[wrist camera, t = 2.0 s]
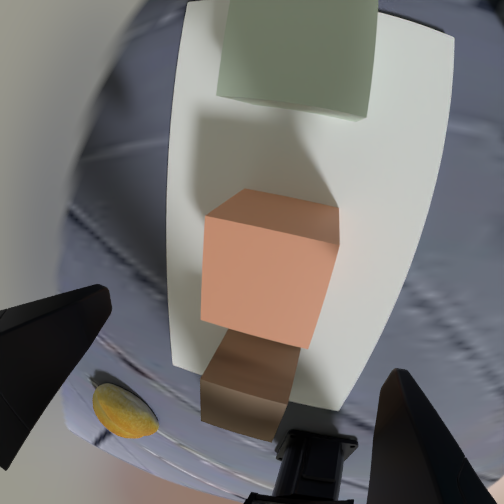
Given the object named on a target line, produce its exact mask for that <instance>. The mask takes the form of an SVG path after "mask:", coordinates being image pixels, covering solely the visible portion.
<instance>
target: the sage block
mask: <svg viewBox="0 0 504 504" xmlns="http://www.w3.org/2000/svg"><path fill="white" fill-rule="evenodd" d="M377 17H378V0H230V4H229V9H228V15H227V21H226V28H225V34H224V40H223V47H222V54H221V61H220V68H219V76H218V84H217V92H216V96H220V97H224V98H229V99H233V100H237V101H241V102H245V103H249V104H252V105H258V106H267V107H275V108H282V109H289V110H296V111H302V112H308V113H314V114H319V115H325V116H330V117H335V118H340V119H344V120H349V121H353V122H357V121H359V120H362V119H364V118H367V111H368V105H369V98H370V90H371V83H372V74H373V65H374V56H375V45H376V33H377Z"/></svg>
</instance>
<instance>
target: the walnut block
mask: <svg viewBox="0 0 504 504" xmlns="http://www.w3.org/2000/svg"><path fill="white" fill-rule="evenodd" d="M300 350H301V348H300V347H296V346H292V345H288V344H284V343H280V342H276V341H272V340H268V339H265V338H261V337H257V336H253V335H250V334H246V333H243V332H239V331H236V330H232V329H228V330H227V332H226V334H225V336H224V338H223V339H222V341H221V343H220V345H219V346H218V348H217V350H216V352H215V354H214V355H213V357H212V359H211V361H210V362H209V364H208V366H207V368H206V370H205V371H204V373H203V375H202V377H201V378H200V400H201V421H203V422H206V423H208V424H211V425H214V426H217V427H220V428H223V429H226V430H229V431H232V432H236V433H239V434H242V435H246V436H249V437H253V438H256V439H260V440H264V441H268V442H272V441H273V438H274V436H275V434H276V431H277V429H278V427H279V424H280V422H281V419H282V417H283V415H284V412H285V410H286V407H287V405H288V401H289V397H290V393H291V389H292V385H293V381H294V376H295V372H296V368H297V364H298V359H299V355H300Z"/></svg>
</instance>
